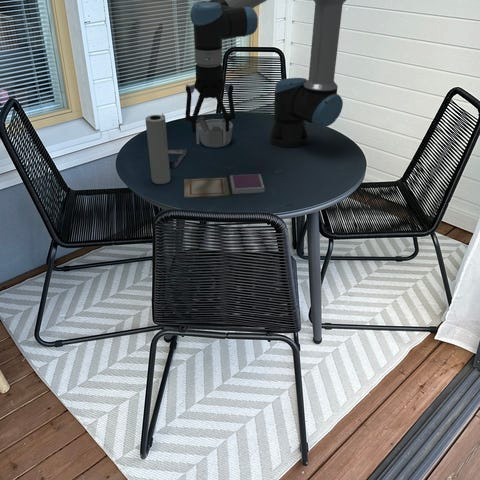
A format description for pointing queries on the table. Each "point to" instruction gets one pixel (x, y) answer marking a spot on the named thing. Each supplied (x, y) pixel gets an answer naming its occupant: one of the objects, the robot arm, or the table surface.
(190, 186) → the marked board
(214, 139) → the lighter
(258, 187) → the ink pad
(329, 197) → the table surface
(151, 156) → the paper towel roll
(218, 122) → the ramekin
